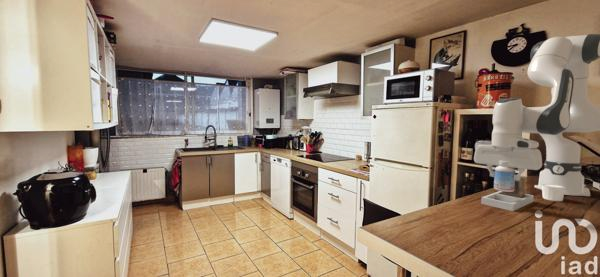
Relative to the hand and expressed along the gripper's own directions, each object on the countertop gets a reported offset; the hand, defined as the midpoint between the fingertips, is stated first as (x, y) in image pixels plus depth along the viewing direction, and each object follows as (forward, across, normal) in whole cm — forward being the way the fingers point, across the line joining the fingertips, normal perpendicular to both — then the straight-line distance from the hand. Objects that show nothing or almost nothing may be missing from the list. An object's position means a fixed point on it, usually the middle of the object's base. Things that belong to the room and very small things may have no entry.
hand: (504, 178), depth 97 cm
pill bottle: (+5, 0, 0) cm, 5 cm away
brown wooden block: (+10, 0, +10) cm, 14 cm away
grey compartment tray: (+12, 0, +5) cm, 13 cm away
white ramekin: (+12, +8, +26) cm, 29 cm away
